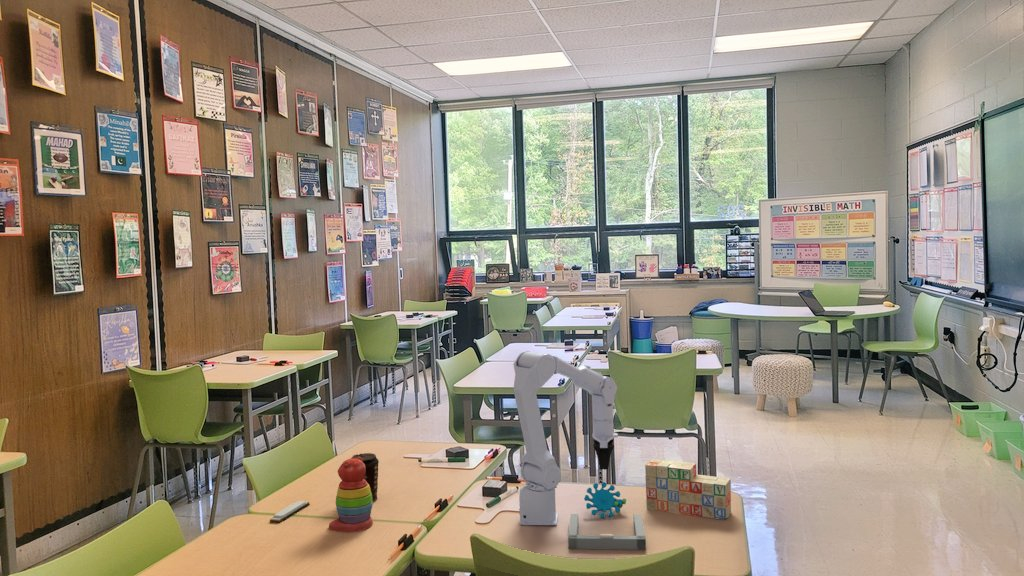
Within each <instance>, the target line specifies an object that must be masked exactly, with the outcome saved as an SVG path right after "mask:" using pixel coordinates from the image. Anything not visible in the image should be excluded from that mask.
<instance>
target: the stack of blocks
mask: <svg viewBox="0 0 1024 576" xmlns="http://www.w3.org/2000/svg"><path fill="white" fill-rule="evenodd" d="M644 469H645V476H644V477H645V495H646V499H645V501H646V509H648V510H654V511H661V512H667V513H673V514H681V515H687V514H689V515H688V516H694V515H696V517H701V516H703V518H708V517H711V518H710V519H715V518H719V519H718V520H721V519H726V518H727V517H728V518H729V516H730V515H731V513H732V503H731V502H732V498H731V497H732V495H731V494H732V493H731V488H732V487H731V486H732V485H731V483H732V482H731V478H729V477H722V476H721V477H720V476H714V475H713V476H712V475H705V474H697V464H696V463H694V462H686V461H685V462H684V461H677V460H676V461H675V460H665V459H664V460H663V459H656V458H652V459H651V460H649V461H648V462H647V463H646V464H645V467H644ZM729 514H730V515H729ZM728 515H729V516H728ZM728 518H727V519H728ZM727 519H726V520H727Z"/></svg>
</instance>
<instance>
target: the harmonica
mask: <svg viewBox="0 0 1024 576" xmlns="http://www.w3.org/2000/svg"><path fill="white" fill-rule="evenodd" d="M309 506H311V504H310V501H305V500H297V501H295V502H293V503H291V504H290V505H288V506H286V507H285V508H283V509H281V510H279V511H278V512H276V513H275V514H273V517H272V518H270V519H269V523H270V524H281V523H283V522H284V521H286V520H288V519H290V518H291V517H293V516H294V515H296V514H297V512H298V513H299V512H301V511H302V510H304V509H305V508H308V507H309Z"/></svg>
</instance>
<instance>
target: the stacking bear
mask: <svg viewBox="0 0 1024 576" xmlns="http://www.w3.org/2000/svg"><path fill="white" fill-rule="evenodd" d="M362 461H363V460H362V458H361V457H358V458H357V459H355V458H352V457H350V458H347V459H346V460H344V461H343V462H342V463H341V464H340V466H339V467H338V469H337V474H338V476H339V478H340V480H341V481H340V482H339V484H338V487H337V491H336V495H335V505H336V507H335V508H336V512H337V517H338V518H334V520H333V519H332V521H330V522H329V524H328V529H329V530H330V531H334V532H340V533H355V532H357V533H358V532H362V531H365V530H368V529H369V528H371V527H372V525H373V522H374V521H373V518H372V516H371V514H372V509H373V503H374V502H373V501H372V493H371V490H370V486H369V484H368V483H367V481H366V480H365V479H363V478H364V476H365V472H366V467H365V464H364V463H363V462H362Z"/></svg>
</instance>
